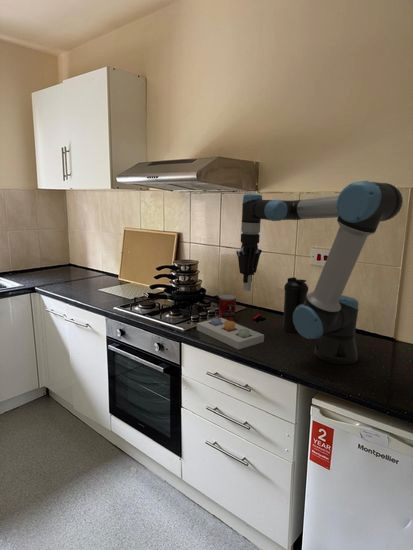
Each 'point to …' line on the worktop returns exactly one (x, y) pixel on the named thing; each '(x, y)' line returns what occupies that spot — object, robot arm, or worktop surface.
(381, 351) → the worktop surface
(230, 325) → the button orange
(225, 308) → the canned food
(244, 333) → the button sage
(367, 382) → the worktop surface
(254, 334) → the console
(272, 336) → the worktop surface
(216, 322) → the button slate
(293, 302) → the water bottle
